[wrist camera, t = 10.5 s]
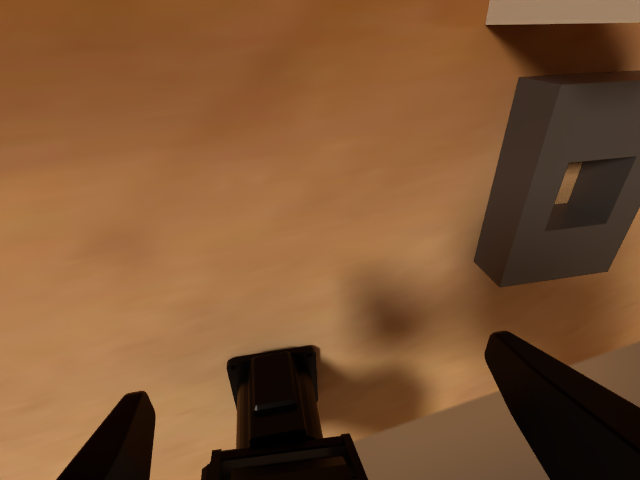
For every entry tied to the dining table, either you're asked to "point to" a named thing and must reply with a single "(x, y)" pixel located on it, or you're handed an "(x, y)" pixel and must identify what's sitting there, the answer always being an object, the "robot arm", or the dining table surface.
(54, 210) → the dining table surface
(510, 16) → the plug
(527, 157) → the block
